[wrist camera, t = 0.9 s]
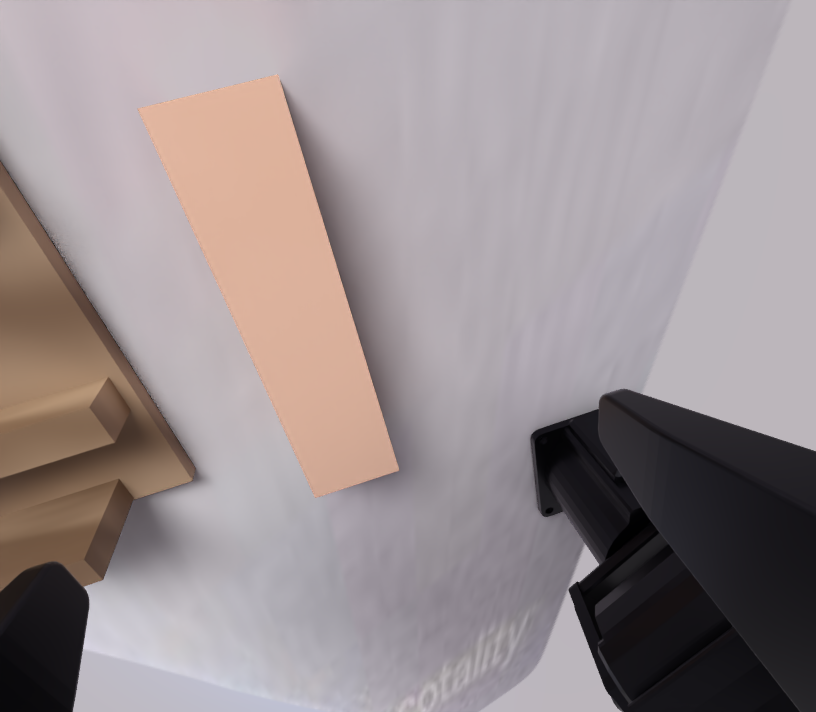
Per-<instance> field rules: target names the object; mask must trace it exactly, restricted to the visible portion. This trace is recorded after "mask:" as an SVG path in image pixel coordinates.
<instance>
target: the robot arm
mask: <svg viewBox="0 0 816 712" xmlns="http://www.w3.org/2000/svg"><path fill="white" fill-rule="evenodd" d="M541 438H542V439H541ZM540 439H541V440H540ZM531 445H532V454H533V464H534V473H535V482H536V492H537V501H538V509H539V511H540V512H541V514H542V515H543V516H544V517H549V516H552V515H555V514H558V513H560V512H563V511H564V513H565V514H566V516H567V517H568V519H569V520H570V522H571V523H572V525H573V526H574V527H575V529H576V530H577V532H578V533H579V535H580V536H581V538H582V539H583V541H584V542H585V544H586V545H587V547H588V548H589V550H590V551H591V553H592V554H593V556H594V557H595V559H596V560H597V562H598V563H599V566H598V567H597V568H596V569H595V570H594V571H592V572H591V573H590V574H589V575H587V576H586V577H585V578H584V579H583V580H582V581H580V582H576V583H575V584H574V585H573V586H571V587H570V588H569V593H570V595H571V598H572V600H573V603H574V607H575V611H576V613H577V616H578V619H579V621H580V624H581V626H582V629H583V632H584V634H585V637H586V639H587V642H588V645H589V648H590V650H591V653H592V655H593V658H594V660H595V663H596V666H597V669H598V671H599V674H600V676H601V679H602V682H603V684H604V687H605V689H606V691H607V692H608V694H609V695H610V696H611V698H612V700H613V702H614V704H615V705H616V707H617V708H618V709H619V710H620V711H622V712H816V451H813V450H810V449H807V448H804V447H801V446H798V445H795V444H792V443H789V442H786V441H783V440H780V439H777V438H774V437H771V436H768V435H764V434H762V433H758V432H755V431H752V430H749V429H746V428H743V427H740V426H737V425H734V424H731V423H728V422H725V421H722V420H719V419H716V418H713V417H710V416H707V415H704V414H700V413H698V412H695V411H692V410H689V409H685V408H682V407H679V406H676V405H673V404H670V403H667V402H664V401H661V400H658V399H655V398H652V397H648V396H646V395H643V394H640V393H637V392H634V391H631V390H627V389H620V390H616V391H613V392H610V393H606V394H604V395H602V396H601V398H600V400H599V409H597V410H594V411H591V412H588V413H585V414H582V415H579V416H577V417H574V418H571V419H568V420H565V421H562V422H559V423H556V424H553V425H550V426H547V427H544V428H541V429H538V430H536V431H535V432H534V433H533V434H532V436H531ZM88 612H89V597H88V594H87V591H86V590H85V588H84V587H83V586H82V585H81V584H80V583H79V582H78V581H77V580H76V578H75V577H74V576H73V575H72V574H71V573H70V572H69V571H68V570H67V569H66V567H65V566H64V565H63V564H61V563H59V562H57V561H50V562H47V563H43V564H40V565H37V566H33V567H30V568H28V569H26V570H24V571H22V572H21V573H20V574H19V575H18V576H17V577H15V578H14V579H13V580H12V581H11V582H10V583H9V584H8V585H7V586H6V587H5V588H4V589H3V590H1V591H0V712H73V707H74V701H75V696H76V690H77V684H78V677H79V670H80V664H81V657H82V651H83V645H84V638H85V632H86V625H87V619H88Z"/></svg>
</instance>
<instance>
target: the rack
mask: <svg viewBox="0 0 816 712" xmlns="http://www.w3.org/2000/svg"><path fill="white" fill-rule="evenodd" d="M195 469H196V468H195V467H194V465H193V464H192V462H191V460H190V459H189V457H188V456H187V454H186V453H185V451H184V449H183V448H182V446H181V445H180V443H179V442H178V440H177V438H176V437H175V435H174V434H173V432H172V431H171V429H170V427H169V426H168V424H167V423H166V421H165V419H164V418H163V416H162V415H161V413H160V412H159V410H158V408H157V407H156V405H155V404H154V402H153V401H152V399H151V397H150V396H149V394H148V393H147V391H146V390H145V388H144V386H143V385H142V383H141V382H140V380H139V379H138V377H137V375H136V374H135V372H134V371H133V369H132V368H131V366H130V364H129V363H128V361H127V360H126V358H125V357H124V355H123V353H122V352H121V350H120V349H119V347H118V346H117V344H116V342H115V341H114V339H113V338H112V336H111V335H110V333H109V331H108V330H107V328H106V327H105V325H104V324H103V322H102V320H101V319H100V317H99V316H98V314H97V313H96V311H95V309H94V308H93V306H92V305H91V303H90V301H89V300H88V298H87V297H86V295H85V294H84V292H83V290H82V289H81V287H80V286H79V284H78V283H77V281H76V279H75V278H74V276H73V275H72V273H71V272H70V270H69V268H68V267H67V265H66V264H65V262H64V261H63V259H62V257H61V256H60V254H59V253H58V251H57V250H56V248H55V246H54V245H53V243H52V242H51V240H50V239H49V237H48V235H47V234H46V232H45V231H44V229H43V228H42V226H41V224H40V223H39V221H38V220H37V218H36V217H35V215H34V213H33V212H32V210H31V209H30V207H29V206H28V204H27V202H26V201H25V199H24V198H23V196H22V194H21V193H20V191H19V190H18V188H17V187H16V185H15V183H14V182H13V180H12V179H11V177H10V176H9V174H8V172H7V171H6V169H5V168H4V166H3V165H2V163H1V161H0V591H1V590H3V589H4V588H5V587H6V586H7V585H8V584H9V583H10V582H11V581H12V580H13V579H14V578H15V577H17V576H18V575H19V574H20V573H21V572H22V571H24V570H26V569H28V568H30V567H33V566H37V565H40V564H43V563H47V562H50V561H57V562H59V563H61V564H63V565H64V566H65V567H66V569H67V570H68V571H69V572H70V573H71V574H72V575H73V576H74V577H75V578H76V580H77V581H78V582H79V583H80V584H81V585H82V586H83V587H84V586H87V585H90V584H92V583H95V582H98V581H101V580H103V579H104V576H105V573H106V571H107V568H108V565H109V563H110V560H111V557H112V555H113V552H114V549H115V547H116V544H117V542H118V539H119V536H120V534H121V531H122V528H123V526H124V523H125V520H126V518H127V515H128V512H129V510H130V507H131V504H132V502H133V500H135V499H138V498H141V497H144V496H148V495H151V494H154V493H157V492H160V491H163V490H166V489H169V488H172V487H175V486H178V485H181V484H185V483H188V482H191V481H193V477H194V473H195Z"/></svg>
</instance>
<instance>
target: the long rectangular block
mask: <svg viewBox="0 0 816 712" xmlns="http://www.w3.org/2000/svg"><path fill="white" fill-rule="evenodd" d="M138 111H139V113H140V115H141V118H142V120H143V122H144V124H145V126H146V129H147V131H148V133H149V135H150V137H151V140H152V142H153V144H154V146H155V148H156V150H157V153H158V155H159V157H160V159H161V161H162V164H163V166H164V168H165V170H166V172H167V175H168V177H169V179H170V181H171V183H172V186H173V188H174V190H175V192H176V194H177V196H178V199H179V201H180V203H181V205H182V207H183V210H184V212H185V214H186V216H187V218H188V221H189V223H190V225H191V227H192V229H193V231H194V234H195V236H196V238H197V240H198V242H199V245H200V247H201V249H202V251H203V253H204V256H205V258H206V260H207V262H208V264H209V266H210V269H211V271H212V273H213V275H214V277H215V280H216V282H217V284H218V286H219V288H220V291H221V293H222V295H223V297H224V299H225V302H226V304H227V306H228V308H229V310H230V312H231V315H232V317H233V319H234V321H235V323H236V326H237V328H238V330H239V332H240V334H241V337H242V339H243V341H244V343H245V345H246V347H247V350H248V352H249V354H250V356H251V358H252V361H253V363H254V365H255V367H256V369H257V372H258V374H259V376H260V378H261V380H262V382H263V385H264V387H265V389H266V391H267V393H268V396H269V398H270V400H271V402H272V404H273V407H274V409H275V411H276V413H277V415H278V418H279V420H280V422H281V424H282V426H283V428H284V431H285V433H286V435H287V437H288V439H289V442H290V444H291V446H292V448H293V450H294V453H295V455H296V457H297V459H298V461H299V463H300V466H301V468H302V470H303V472H304V474H305V477H306V479H307V481H308V483H309V485H310V488H311V490H312V492H313V494H314V496H315V498H317V497H320V496H323V495H326V494H329V493H332V492H335V491H338V490H341V489H344V488H348V487H351V486H354V485H357V484H360V483H363V482H366V481H369V480H372V479H375V478H378V477H381V476H384V475H387V474H390V473H393V472H396V471H399V468H398V464H397V461H396V458H395V454H394V451H393V448H392V445H391V441H390V438H389V435H388V431H387V428H386V425H385V421H384V418H383V415H382V412H381V408H380V405H379V402H378V399H377V395H376V392H375V389H374V386H373V382H372V379H371V376H370V372H369V369H368V366H367V363H366V359H365V356H364V353H363V350H362V346H361V343H360V340H359V337H358V333H357V330H356V327H355V323H354V320H353V317H352V314H351V310H350V307H349V304H348V301H347V297H346V294H345V291H344V288H343V284H342V281H341V278H340V275H339V271H338V268H337V265H336V261H335V258H334V255H333V252H332V248H331V245H330V242H329V239H328V235H327V232H326V229H325V226H324V222H323V219H322V216H321V212H320V209H319V206H318V203H317V199H316V196H315V193H314V190H313V186H312V183H311V180H310V177H309V173H308V170H307V167H306V164H305V160H304V157H303V154H302V150H301V147H300V144H299V141H298V137H297V134H296V131H295V128H294V124H293V121H292V118H291V115H290V111H289V108H288V105H287V102H286V98H285V95H284V92H283V88H282V85H281V82H280V79H279V76H278V75H274V76H269V77H265V78H261V79H257V80H253V81H249V82H245V83H241V84H237V85H233V86H228V87H224V88H220V89H216V90H212V91H208V92H204V93H200V94H196V95H191V96H187V97H183V98H179V99H175V100H171V101H167V102H163V103H159V104H155V105H150V106H146V107H142V108H138Z"/></svg>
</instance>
